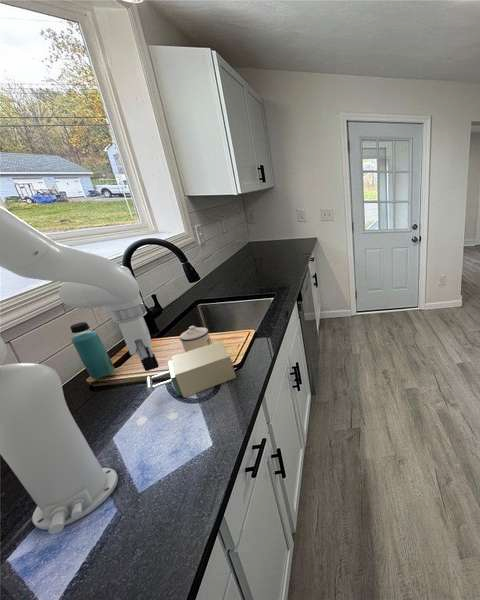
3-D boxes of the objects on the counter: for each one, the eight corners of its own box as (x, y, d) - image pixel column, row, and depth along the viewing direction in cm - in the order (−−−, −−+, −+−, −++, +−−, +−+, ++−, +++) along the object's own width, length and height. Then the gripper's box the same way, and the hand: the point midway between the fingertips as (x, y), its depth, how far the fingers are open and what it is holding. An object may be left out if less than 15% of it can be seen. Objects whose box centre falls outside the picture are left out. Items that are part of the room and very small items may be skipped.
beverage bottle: (120, 374, 107) (95, 321, 99) (95, 385, 102) (67, 330, 94) (113, 369, 110) (88, 317, 103) (88, 379, 105) (61, 326, 98)
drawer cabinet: (183, 397, 93) (174, 375, 90) (178, 377, 103) (170, 356, 100) (236, 377, 101) (229, 356, 98) (227, 360, 111) (220, 340, 108)
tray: (152, 406, 89) (144, 387, 87) (150, 385, 98) (143, 369, 96) (227, 377, 100) (222, 360, 98) (219, 361, 109) (214, 346, 107)
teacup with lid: (216, 355, 115) (207, 327, 111) (187, 364, 111) (176, 335, 106) (213, 343, 124) (204, 316, 120) (186, 350, 120) (176, 323, 116)
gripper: (111, 308, 88) (136, 362, 95) (108, 325, 78) (136, 385, 85) (144, 300, 93) (165, 353, 100) (146, 316, 82) (169, 374, 89)
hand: (152, 368), depth 92 cm, fingers closed
